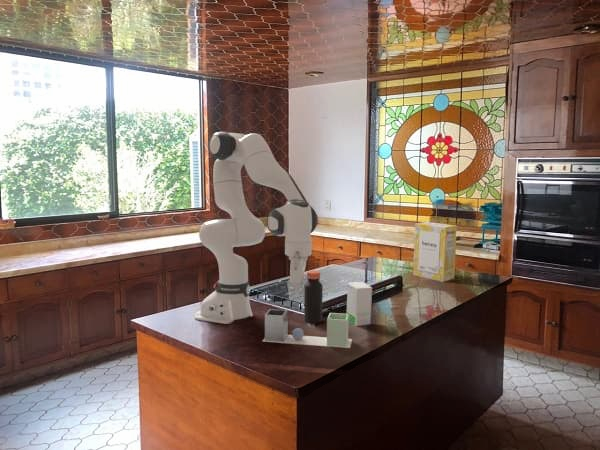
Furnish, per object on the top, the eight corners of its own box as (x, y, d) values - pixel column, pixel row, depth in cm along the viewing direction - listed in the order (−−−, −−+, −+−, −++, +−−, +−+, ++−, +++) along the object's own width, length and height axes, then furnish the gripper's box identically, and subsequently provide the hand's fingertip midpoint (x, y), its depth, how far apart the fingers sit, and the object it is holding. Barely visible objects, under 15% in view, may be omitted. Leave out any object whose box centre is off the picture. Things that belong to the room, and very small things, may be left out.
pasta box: (413, 275, 255) (415, 223, 251) (424, 272, 262) (426, 221, 258) (443, 281, 241) (445, 227, 237) (454, 278, 248) (456, 225, 244)
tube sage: (326, 345, 156) (327, 319, 155) (329, 338, 162) (329, 312, 161) (346, 346, 155) (346, 320, 153) (348, 339, 161) (348, 314, 160)
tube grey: (265, 340, 160) (264, 315, 159) (269, 333, 166) (269, 309, 165) (283, 342, 159) (283, 316, 157) (287, 335, 165) (287, 310, 164)
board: (262, 344, 160) (262, 341, 159) (268, 336, 167) (267, 333, 167) (350, 351, 154) (350, 347, 154) (352, 342, 161) (352, 339, 161)
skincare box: (345, 322, 182) (346, 282, 179) (361, 320, 184) (361, 281, 182) (355, 329, 174) (356, 288, 172) (371, 327, 176) (372, 286, 174)
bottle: (311, 319, 185) (311, 269, 182) (325, 322, 181) (326, 271, 178) (300, 323, 180) (300, 272, 177) (314, 327, 175) (315, 275, 173)
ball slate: (290, 341, 159) (290, 329, 159) (293, 336, 163) (293, 325, 163) (302, 342, 159) (302, 330, 158) (304, 337, 162) (304, 326, 162)
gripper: (305, 256, 146) (305, 299, 148) (309, 243, 166) (309, 281, 168) (285, 255, 146) (285, 298, 149) (291, 243, 167) (291, 281, 169)
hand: (298, 289), depth 159 cm, fingers open, 8 cm apart
